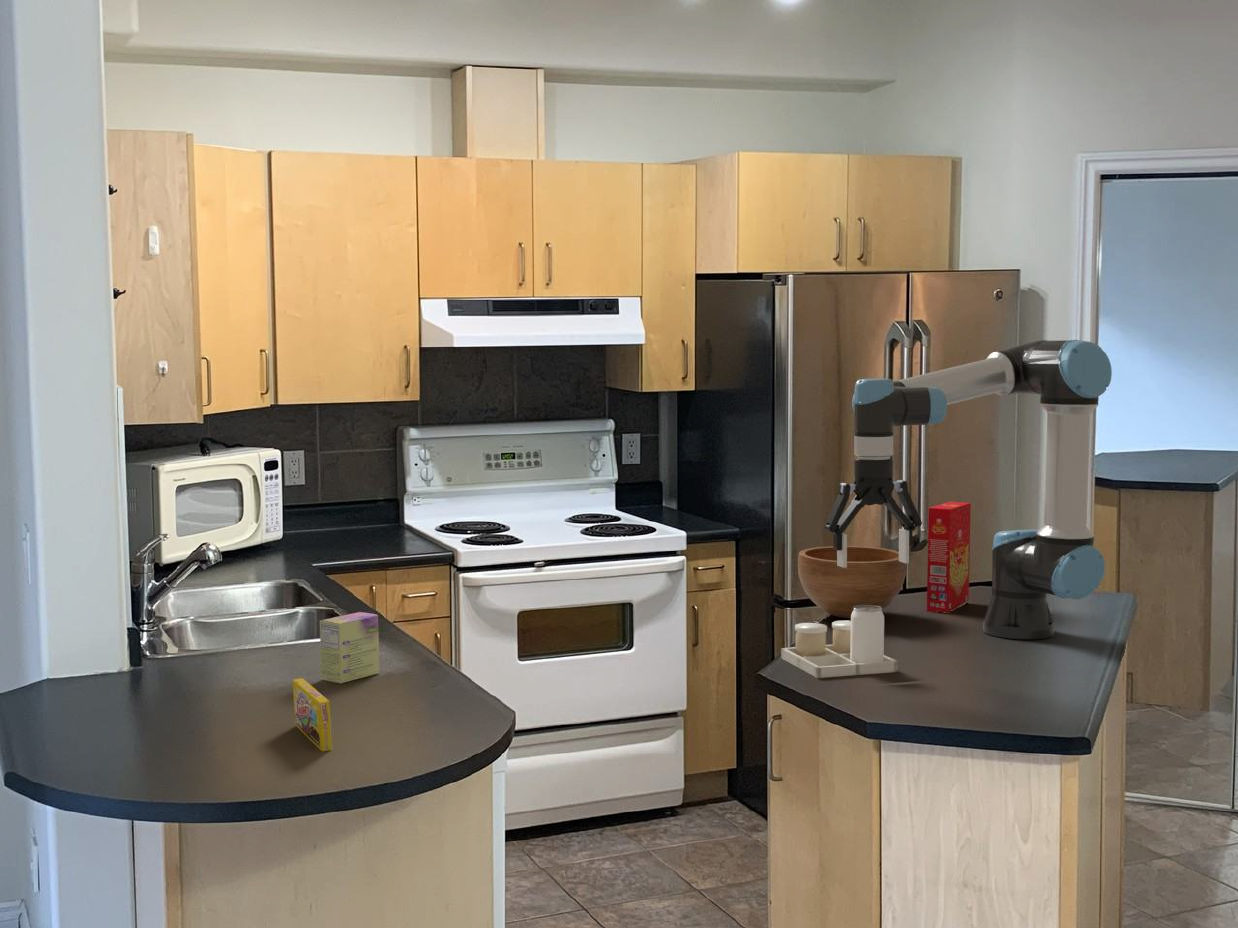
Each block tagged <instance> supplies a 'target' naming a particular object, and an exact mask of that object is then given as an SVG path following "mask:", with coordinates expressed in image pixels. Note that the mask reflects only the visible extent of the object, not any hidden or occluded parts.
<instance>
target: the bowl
mask: <svg viewBox="0 0 1238 928" xmlns="http://www.w3.org/2000/svg"><path fill="white" fill-rule="evenodd" d="M797 570H798V571H797V573H798V577H799V580H800V585H801V586H802V588H803V590H804V592H805V593H806V595H807V596H808V599H810V601H812V602H813V604H815V605H816V606H817V607H818V608H819V609H821V610H822V611H823V612H826V613H827V614H830V615H832V616H835V617H836V618H837V617H838V618H842V619H848V620H849V619H850V620H851V614H852V612H853V610H854V608H853V607H854V606H859V605H872V606H878V607H881V608H882V611H883V610H884V609H886V608H887V607H889V606H890V605H891V603H893V601H894V600H895V599H896V597H897V596H898V595H899V593H900V592H901V590H902V588H903V586H904V585H903V584H904V582H905V578H906V574H907V563H903V562H900V561H899V550H894V549H890V548H889V549H888V548H882V547H872V546H859V545H852V546H851V545H847V568H843V567H840V566H837V550H834V547H833V545H832V546H831V545H830V546H829V545H828V546H818V547H817V546H816V547H810V548H805V549H802V550H799V552H798V555H797Z"/></svg>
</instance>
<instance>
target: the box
mask: <svg viewBox="0 0 1238 928" xmlns="http://www.w3.org/2000/svg"><path fill="white" fill-rule="evenodd" d="M379 635H380V634H379V615H378V614H375V613H369V612H362V611H358V612H355V613H354V612H353V613H349V614H344V615H340V616H334V617H330V618H326V619H321V620H319V636H320V637H319V639H320V677H321V678H320V680H322V681H326V682H330V683H335V684H344V683H348V682H351V681H354V680H358V679H362V678H365V677H366V678H367V677H371V676H375V675H379V674H380V644H379V643H380V642H379V640H380V639H379V637H380V636H379Z"/></svg>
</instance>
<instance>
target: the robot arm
mask: <svg viewBox="0 0 1238 928" xmlns="http://www.w3.org/2000/svg"><path fill="white" fill-rule="evenodd" d="M1112 372H1113V370H1112V365H1111V361H1110V359H1109V357H1108V355H1107V353H1106V352H1105V351H1104V350H1103V348H1102V347H1101V346H1099V345H1098V344H1096V343H1094V342H1092V341H1086V340H1080V339H1070V340H1069V339H1068V340H1066V339H1065V340H1064V339H1063V340H1048V339H1047V340H1046V339H1045V340H1044V339H1041V340H1036V341H1034V340H1033V341H1030V342H1026V343H1023V344H1020V345H1015V346H1013V347H1009V348H1005V349H1002V350H999V351H994V352H991V353H990V354H989V355H988V356H987V357H986V359H981V360H977V361H972V362H969V363H965V364H961V365H956V366H952V367H948V368H944V369H939V370H935V371H931V372H927V373H923V374H919V375H915V376H909V377H908V378H907V377H906V378H902V379H897V380H895V381H893V380H892V379H891V378H862V379H861V378H860V379H858V380H857V381H856V382H855V385H854V394H853V395H852V400H851V407H852V410H853V413H854V416H853V418H854V423H853V424H854V427H853V428H854V436H853V437H854V441H853V442H854V443H853V444H854V445H853V446H854V447H853V449H854V451H853V453H854V455H855V456H856V458H855V459H854V460H853V476H854V482H853V484H851V483H846V482H841V483H839V486H838V494H837V496H836V499H835V501H834V504H833V505H832V508H831V510H830V512H829V514H828V517H827V519H826V521H825V523H824V525H823V530H825V531H827V532H828V531H829V532H831V533H832V534H833V535H832V536H833V539H832V540H833V541H832V542H833V545H832V546H833V547H834V550H837V566H840V567H843V568H847V546H848V534H846V533H844V532H845V531H846V529H847V528H848V527H849V525H850V524H851V522H853V520H854V519H855V517H856V516H857V514H859V513H860V510H862V509H863V508H864V507H865V506H875V505H880V506H881V505H885V507H887V509H888V510H889V512H890V513H891V514H892V515H893V517H894V518H895V519H896V520H897V521H898V523H899V524H900V526H901V527H903V528H899V529H898V552H899V561H900V562H903V563H906V564H910V560H909V559H910V546H912V545H913V536H914V535H913V534H914V533H913V531H915V530H916V529H917V528H916V527H921V526H922V524H923V521H922V520H921V517H920V515H919V513H918V511H917V508H916V506H915V504H914V502H913V500H912V497H911V495H910V493H909V486H908V482H907V480H902V479H897V480H896V481H893V475H894V460H893V459H892V458H891V457H892V456H894V427H898V426H900V427H901V426H929V425H937V424H939V423H941V422H942V421H943V420H944V419H945V418H946V415H947V411H948V406H949V405H952V404H956V403H960V402H964V401H969V400H973V399H976V398H980V397H981V398H982V397H984V396H989V395H992V394H995V395H997V396H1000V397H1001V396H1002V397H1004V396H1009V395H1012V394H1013V395H1014V394H1030V395H1031V394H1034V395H1040V400H1039V405H1040V406H1041V407H1042V408H1043V409H1044V410H1045V411H1046V415H1047V417H1046V448H1045V450H1046V451H1045V479H1044V480H1045V482H1044V483H1045V484H1044V486H1045V487H1044V489H1045V490H1044V513H1043V514H1044V517H1043V519H1044V520H1043V525H1042V526H1041V527H1040V528H1038V529H1036V528H1035V529H1016V530H1015V529H1014V530H1013V529H1012V530H1011V529H1010V530H1001V531H998V532H997V533H995V534H994V537H993V543H992V547H991V550H992V554H991V555H992V566H991V567H992V568H991V570H992V571H991V572H992V573H991V574H992V575H991V576H992V577H991V597H990V598H991V599H990V602H989V604H988V605H987V606H988V607H987V609H986V612H985V616H984V617H983V620H982V621H983V622H982V623H983V624H982V631H983V633H985V634H987V635H990V636H993V637H998V638H1004V639H1010V640H1011V639H1013V640H1040V639H1041V640H1042V639H1048V638H1051V637H1053V636H1054V635H1055V623H1054V621H1053V617H1052V613H1051V611H1050V608H1049V603H1048V601H1047V600H1048V599H1047V594H1048V595H1052V596H1056V597H1057V598H1061V599H1071V600H1081V599H1085V598H1087V597H1088V596H1090V595H1091V594H1093V593H1094V592H1095V590H1096V589H1098V588H1099V586H1100V585H1101V583H1102V581H1103V578H1104V576H1105V571H1106V563H1105V559H1104V558H1105V557H1104V555H1102V553H1101V551H1100V550H1099V549H1097V547H1095V546H1094V543H1095V542H1094V541H1095V535H1094V533H1093V532H1092V531H1091V530H1090V529H1089V527H1088V526H1087V523H1088V522H1087V521H1088V497H1089V496H1088V493H1089V468H1090V467H1089V465H1090V461H1089V460H1090V436H1091V413H1092V412H1093V411H1094V410H1095V409H1096V408H1098V406H1099V398H1100V396H1101V395H1103V394H1104V393H1105V392H1106V391H1107V387H1109V386H1110V384H1111V382H1112V374H1113V373H1112ZM893 491H895V492H896V493H897V496H898V498H899V500H900V502H901V503H900V504H902V507H903V510H904V511H905V513H906V514H905V513H904V511H903V510H902V509H901V508H900V506H899V505H898V504H897V502H896V500H895V498H893V496H892V494H891V493H892V492H893ZM853 492H854V494H855V496H854V497H853V499H851V501H850V504H849V506H848V507H847V509H846V510H845V508H846V506H847V504H848V501H849V498H850V495H852V494H853ZM844 510H845V511H844Z"/></svg>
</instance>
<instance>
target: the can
mask: <svg viewBox="0 0 1238 928" xmlns="http://www.w3.org/2000/svg"><path fill="white" fill-rule="evenodd" d="M853 608H854V610H853V612H852V614H851V619H850V621H851V642H850V660H852V661H854V662H856V663H871V662H883V659H884V655H885V654H884V652H885V651H884V649H885V647H884V645H885V615H884V613H883V610H882V608H881V607H878V606H872V605H859V606H854V607H853Z"/></svg>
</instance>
